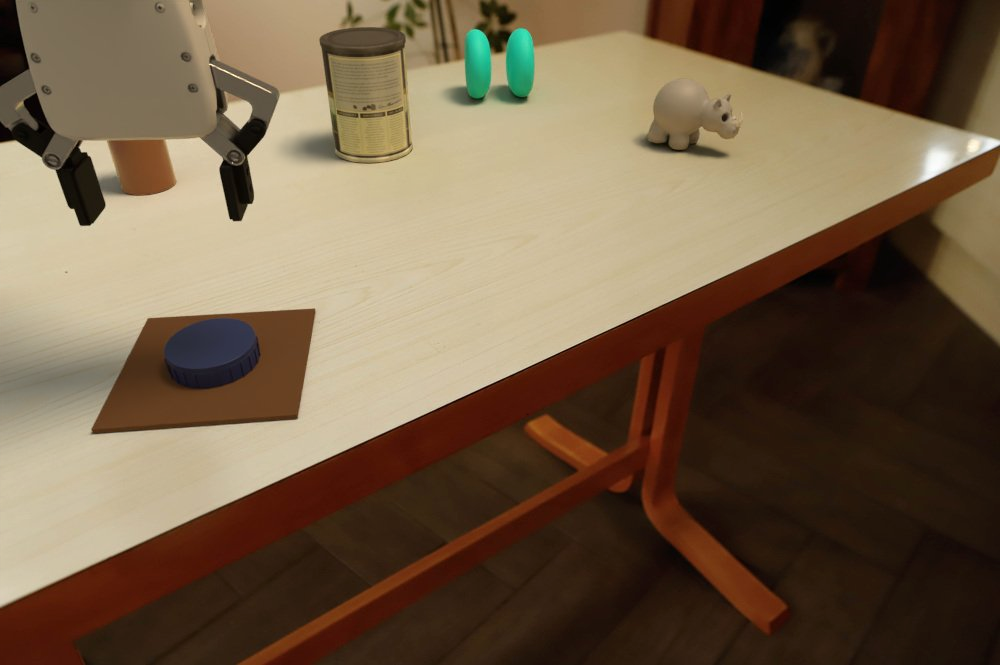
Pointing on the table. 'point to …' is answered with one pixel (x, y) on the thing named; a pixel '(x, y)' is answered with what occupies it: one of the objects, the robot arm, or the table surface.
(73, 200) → the robot arm
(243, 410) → the cork mat
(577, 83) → the table surface
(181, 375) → the jar lid
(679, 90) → the toy rhinoceros
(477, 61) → the donuts
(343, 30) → the coffee can
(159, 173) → the jam jar
